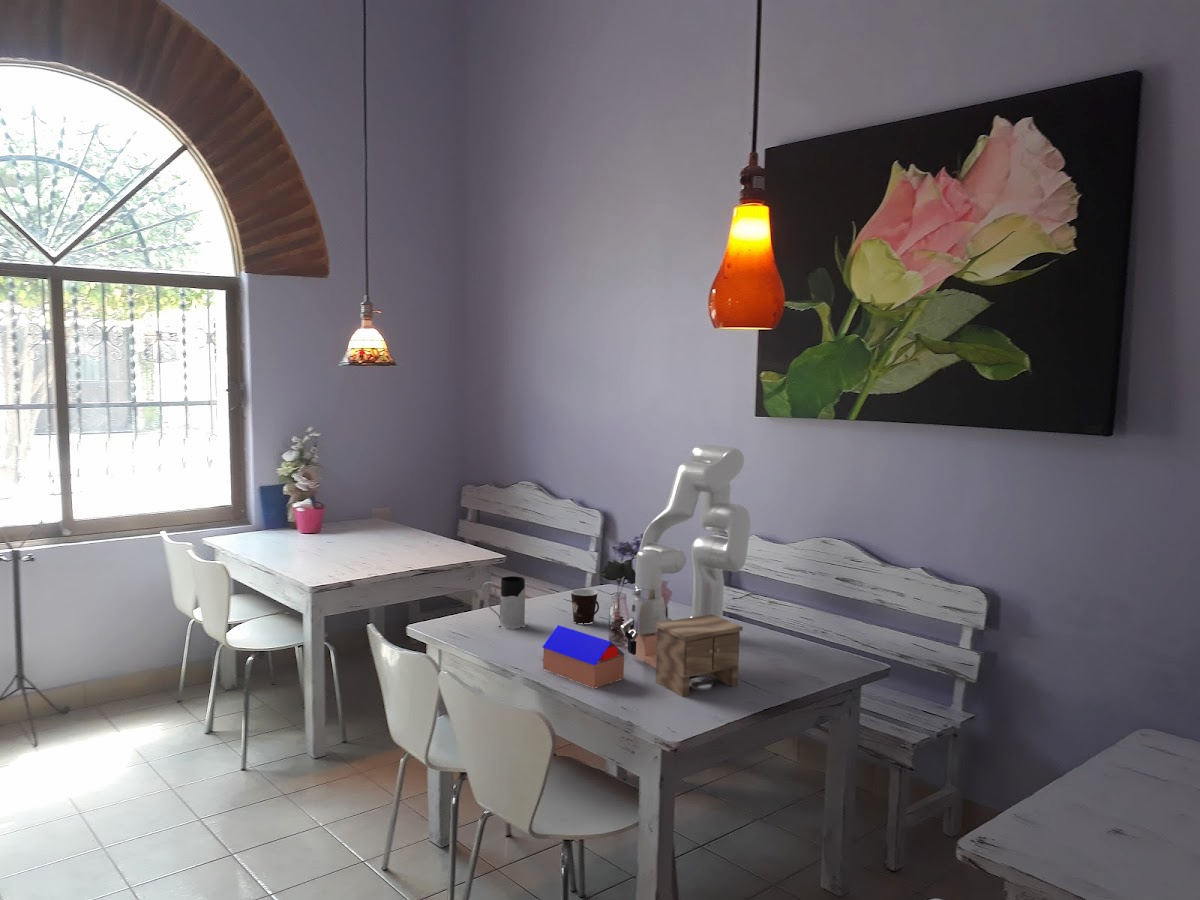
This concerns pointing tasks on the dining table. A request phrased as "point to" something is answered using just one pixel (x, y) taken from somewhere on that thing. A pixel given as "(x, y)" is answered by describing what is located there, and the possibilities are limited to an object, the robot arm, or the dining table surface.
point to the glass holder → (511, 602)
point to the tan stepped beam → (647, 648)
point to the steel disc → (701, 683)
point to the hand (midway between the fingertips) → (646, 651)
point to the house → (583, 657)
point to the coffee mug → (584, 605)
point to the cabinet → (696, 651)
